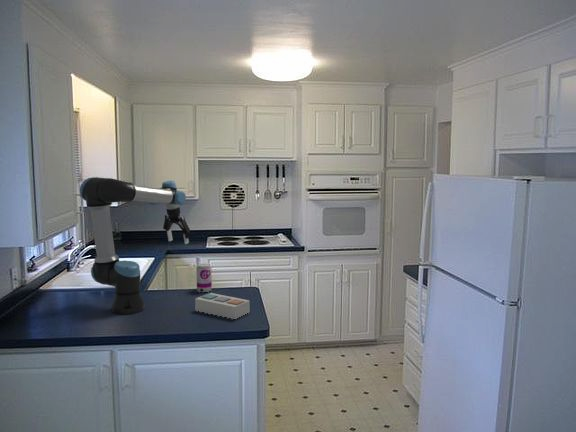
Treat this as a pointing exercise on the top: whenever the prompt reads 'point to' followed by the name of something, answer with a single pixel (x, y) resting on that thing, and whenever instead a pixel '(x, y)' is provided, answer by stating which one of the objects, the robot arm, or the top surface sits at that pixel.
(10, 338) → the top surface
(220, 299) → the grey key
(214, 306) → the keypad
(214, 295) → the teal key
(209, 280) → the supplement can
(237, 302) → the terracotta key
